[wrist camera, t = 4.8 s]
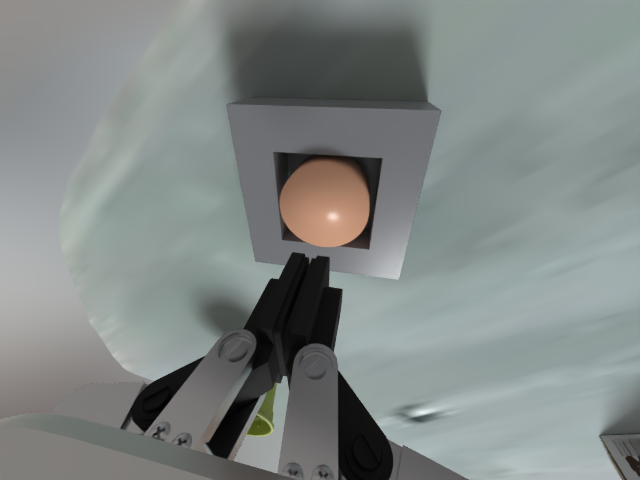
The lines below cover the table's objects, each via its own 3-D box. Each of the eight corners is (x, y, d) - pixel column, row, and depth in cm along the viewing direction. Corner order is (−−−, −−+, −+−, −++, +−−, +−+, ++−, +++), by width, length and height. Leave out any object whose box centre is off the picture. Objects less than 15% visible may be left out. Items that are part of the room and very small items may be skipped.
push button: (375, 154, 17) (375, 168, 14) (365, 229, 20) (364, 251, 18) (289, 149, 18) (275, 162, 15) (293, 222, 21) (283, 242, 19)
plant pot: (294, 347, 35) (274, 417, 28) (289, 378, 41) (271, 443, 34) (231, 331, 36) (197, 396, 29) (234, 364, 42) (206, 425, 35)
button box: (428, 101, 16) (441, 110, 13) (395, 249, 23) (398, 279, 20) (253, 97, 18) (225, 104, 15) (270, 236, 25) (255, 261, 22)
